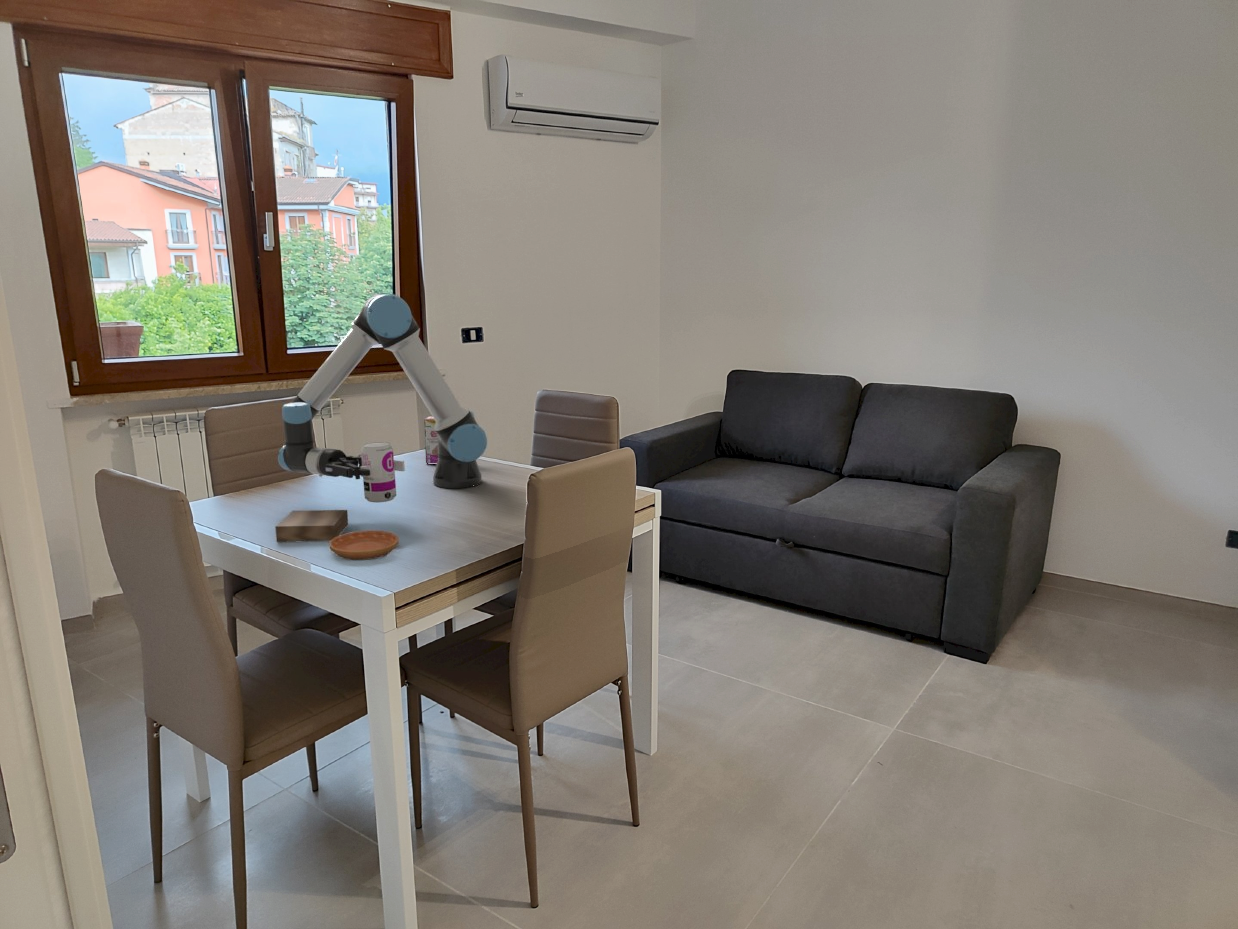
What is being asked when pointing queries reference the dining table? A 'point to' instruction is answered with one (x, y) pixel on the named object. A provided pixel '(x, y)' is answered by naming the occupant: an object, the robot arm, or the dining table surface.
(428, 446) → the candy bar box
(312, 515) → the podium
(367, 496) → the supplement can
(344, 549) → the saucer
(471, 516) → the dining table surface
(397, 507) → the dining table surface
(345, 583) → the dining table surface
